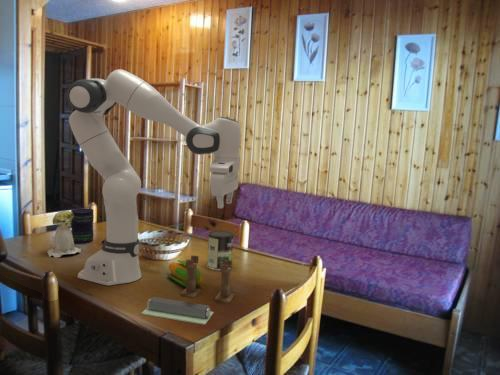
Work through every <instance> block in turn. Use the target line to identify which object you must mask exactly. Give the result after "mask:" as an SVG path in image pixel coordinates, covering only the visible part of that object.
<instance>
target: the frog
mask: <svg viewBox="0 0 500 375" xmlns="http://www.w3.org/2000/svg"><path fill="white" fill-rule="evenodd" d="M73 217H74V214H73V212H71V210H70V211H69V210H61V211H59V212H57V213H55V214H54V216H53V217H52V225H56V226H57V228H56V229H55V233H54V236H53V239H52V244H53V245H54V246H55V247H54V248H49V247H48V250H47V253H48V254H47V255H48V257H51V256H53V258H55V257H58V258H60V257H62V256H64V255H72V254H73V255H75V254H76V253H82V252H81V249H82V248H78V247H75V244H74V241H73V236H72V232H71V230H72V228H71V227H72V223H71V220H72V219H73Z"/></svg>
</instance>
